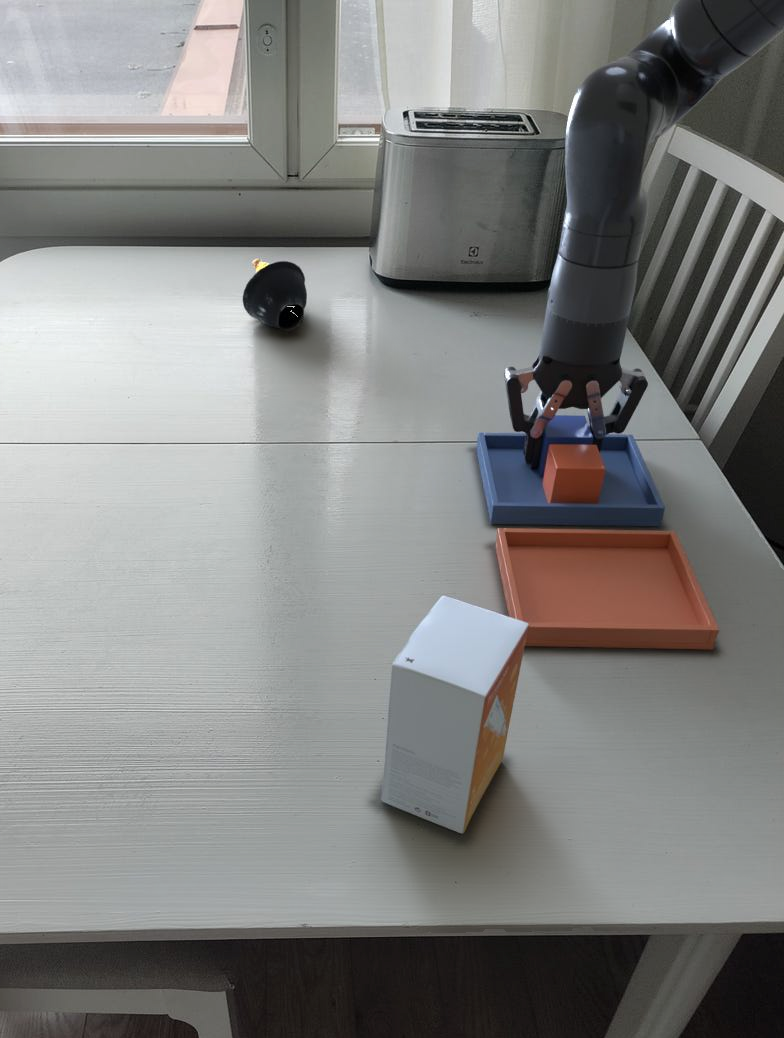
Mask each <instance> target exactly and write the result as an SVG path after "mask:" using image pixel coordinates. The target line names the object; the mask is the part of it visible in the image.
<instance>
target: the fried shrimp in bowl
mask: <svg viewBox="0 0 784 1038" xmlns="http://www.w3.org/2000/svg"><path fill="white" fill-rule="evenodd" d="M251 263H252V266H253V267H254V269H255V274H253V276H252V277H251V278H249V280H248V281H247V283H246V285H245V288H244V290H243V293H242V304H243V305H242V306H243V308H244V310H245V311H246V313H247V314H248V315H249V316H250V317H252V318H253V319H256V320H258V321H259V322H260V323H262V324H263V325H265V326H266V327H271V328H279V329H280V331H281V330H282V331H284V332H286V331H293V330H294V329H296V328H298V327H300V326H301V325H302V324H303V323H304V320H305V308H306V306H307V299H308V293H307V287H306V276H305V274H304V272H303V270H302V268H301V267H300V266H299V265H297V264H296V263H294V262H292V261H286V260H278V261H275V262H272V263H269V262H265V261H263V260H262V258H255V259H253V261H252V262H251ZM287 306H295V307H294V308H293V307H287ZM291 310H292V312H294V313H295V314H296V315H297V316H298V317H297V316H296V315H295V314H293V313H292V312H290V311H291Z"/></svg>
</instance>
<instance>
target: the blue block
mask: <svg viewBox="0 0 784 1038" xmlns="http://www.w3.org/2000/svg"><path fill="white" fill-rule="evenodd" d="M589 426H590V424H589V422H588V420H587V418H586V415H574V414H573V415H572V414H571V415H567V414H566V415H564V414H563V415H562V414H561V415H560V414H555V416H554V418H553V419H552V420H550V421H549V423H548V424H547V426H546V428H545V430H544V432H543V433H542V437H543V442H542V447H541V453H540V459H539V465H538V472H539V476H540V477H544V472H545V467H546V461H547V455H548V450H549V445H550V444H572V445H592V442H593V435H592V433H591V430H590V428H589Z"/></svg>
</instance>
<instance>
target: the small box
mask: <svg viewBox="0 0 784 1038" xmlns="http://www.w3.org/2000/svg"><path fill="white" fill-rule="evenodd" d="M528 628H529V624H528V623H526V622H523V621H520V620H517V619H514V618H511V617H509V615H504V614H502V613H500V612H499V613H498V612H495V611H493V610H489V609H487V608H483V607H481V606H477V605H474V604H471V603H468V602H465V601H462V600H459V599H456V598H452V597H450V596H446V595H442V596H440V597H439V599H438V600H437V601H436V602H435V604H434V605H433V606H432V608H431V609H430V610H429V612H428V613H427V614H426V616H424V618H423V619H422V620H421V621H420V623H419V624H418V626H417V627H416V628H415V629H414V631H413V632H412V633H411V635H410V637H409V638H408V641H407V642H406V644H405V645H404V646H403V648H402V649H401V651H400V652H399V654H398V655H397V656H396V658H395V659H394V660H393V662H392V664H391V673H390V685H389V697H388V698H389V699H388V709H387V721H386V722H387V723H386V738H385V741H386V742H385V751H384V752H385V753H384V762H383V773H382V774H383V775H382V784H381V797H380V800H381V802H382V803H385V804H387V805H389V806H392V807H393V808H397V809H399V810H401V811H404V812H406V813H409V814H412V815H414V816H416V817H419V818H421V819H423V820H425V821H428V822H430V823H434V824H436V825H438V826H441V827H443V828H446V829H449V830H451V831H453V832H456V833H459V834H465V832H466V830H467V828H468V826H469V823H470V822H471V819H472V817H473V816H474V813H475V811H476V809H477V807H478V805H479V804H480V801H481V800H482V798H483V796H484V794H485V792H486V790H487V788H488V786H489V785H490V783H491V781H492V779H493V777H494V776H495V774H496V773H497V771H498V768H499V767H500V765H501V763H502V762H503V759H504V756H505V755H504V754H505V750H506V743H507V739H508V733H509V728H510V724H511V723H510V722H511V717H512V713H513V709H514V702H515V697H516V694H517V693H516V692H517V688H518V681H519V678H520V672H521V666H522V661H523V657H524V652H525V647H526V646H525V642H526V637H527V632H528Z"/></svg>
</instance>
